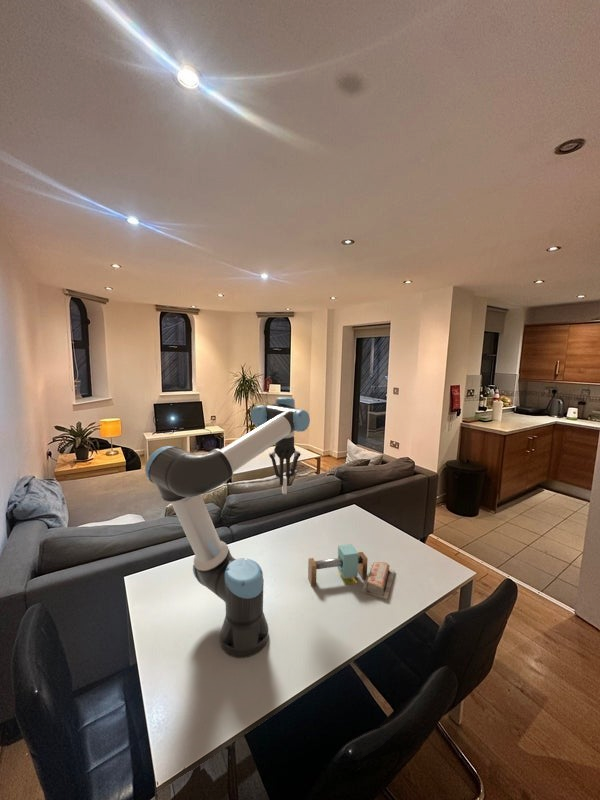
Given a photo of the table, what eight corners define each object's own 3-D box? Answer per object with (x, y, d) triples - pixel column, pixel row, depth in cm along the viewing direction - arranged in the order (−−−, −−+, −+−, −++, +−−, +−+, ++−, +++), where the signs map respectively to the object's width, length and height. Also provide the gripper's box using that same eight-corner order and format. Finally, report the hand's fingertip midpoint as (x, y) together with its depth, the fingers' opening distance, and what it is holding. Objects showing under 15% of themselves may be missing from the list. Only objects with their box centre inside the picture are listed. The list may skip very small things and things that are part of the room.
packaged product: (388, 589, 122) (361, 581, 126) (387, 601, 122) (361, 593, 126) (395, 562, 138) (371, 556, 142) (394, 573, 139) (371, 567, 143)
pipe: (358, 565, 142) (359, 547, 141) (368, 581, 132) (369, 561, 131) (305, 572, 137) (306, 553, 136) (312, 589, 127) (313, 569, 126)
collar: (351, 566, 139) (351, 544, 138) (357, 576, 132) (358, 553, 131) (337, 568, 137) (338, 545, 136) (343, 578, 131) (344, 555, 130)
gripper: (298, 433, 136) (297, 488, 139) (267, 434, 133) (267, 490, 136) (303, 437, 129) (301, 495, 132) (270, 438, 126) (269, 497, 129)
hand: (284, 492), depth 134 cm, fingers closed
